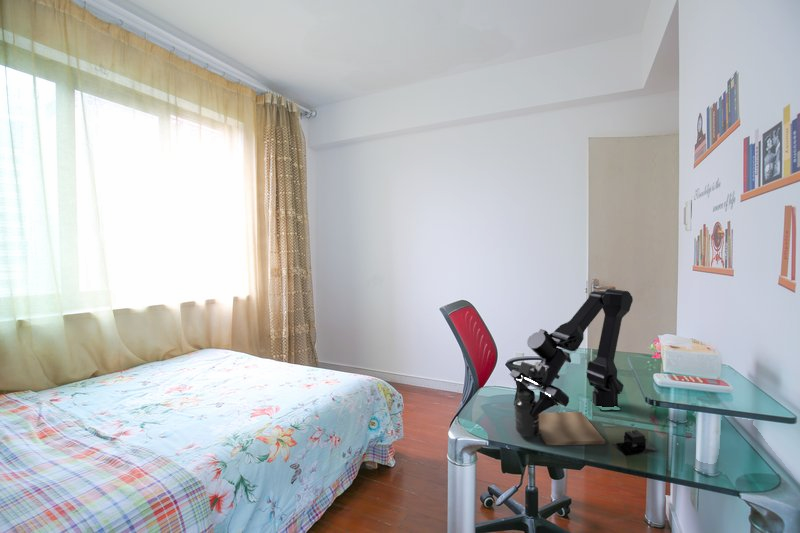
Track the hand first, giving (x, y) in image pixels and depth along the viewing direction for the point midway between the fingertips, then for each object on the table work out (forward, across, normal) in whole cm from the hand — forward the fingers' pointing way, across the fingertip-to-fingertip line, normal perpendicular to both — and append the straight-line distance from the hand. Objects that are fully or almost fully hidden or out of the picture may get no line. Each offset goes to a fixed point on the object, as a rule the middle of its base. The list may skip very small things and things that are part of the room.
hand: (523, 410), depth 108 cm
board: (-3, +3, +15) cm, 16 cm away
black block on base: (-9, +19, +22) cm, 30 cm away
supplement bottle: (+4, 0, +6) cm, 7 cm away
